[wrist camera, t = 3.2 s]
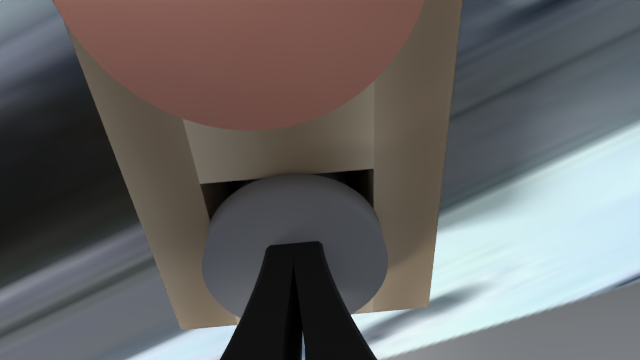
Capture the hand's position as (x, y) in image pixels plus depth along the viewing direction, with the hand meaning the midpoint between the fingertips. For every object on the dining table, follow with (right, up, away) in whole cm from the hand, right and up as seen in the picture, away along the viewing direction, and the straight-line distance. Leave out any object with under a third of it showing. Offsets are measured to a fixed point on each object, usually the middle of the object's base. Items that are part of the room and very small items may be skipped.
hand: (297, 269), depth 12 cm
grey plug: (0, +2, +3) cm, 4 cm away
